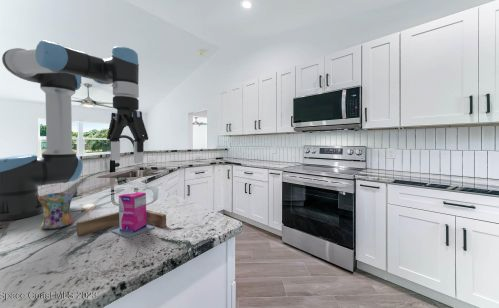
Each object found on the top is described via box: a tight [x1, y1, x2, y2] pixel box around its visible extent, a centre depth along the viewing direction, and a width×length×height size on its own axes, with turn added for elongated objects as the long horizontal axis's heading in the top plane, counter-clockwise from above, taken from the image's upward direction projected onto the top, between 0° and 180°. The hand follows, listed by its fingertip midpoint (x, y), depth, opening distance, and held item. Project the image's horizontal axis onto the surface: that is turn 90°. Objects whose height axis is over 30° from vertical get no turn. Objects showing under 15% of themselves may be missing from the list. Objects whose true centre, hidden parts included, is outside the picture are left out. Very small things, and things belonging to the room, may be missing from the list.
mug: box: [38, 191, 75, 230], centre depth 76 cm, size 12×9×11 cm
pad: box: [110, 224, 155, 238], centre depth 72 cm, size 9×9×1 cm
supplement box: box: [118, 191, 148, 232], centre depth 71 cm, size 6×6×12 cm
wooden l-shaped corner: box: [76, 209, 167, 237], centre depth 71 cm, size 17×19×4 cm
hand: (126, 161), depth 74 cm, fingers open, 13 cm apart
